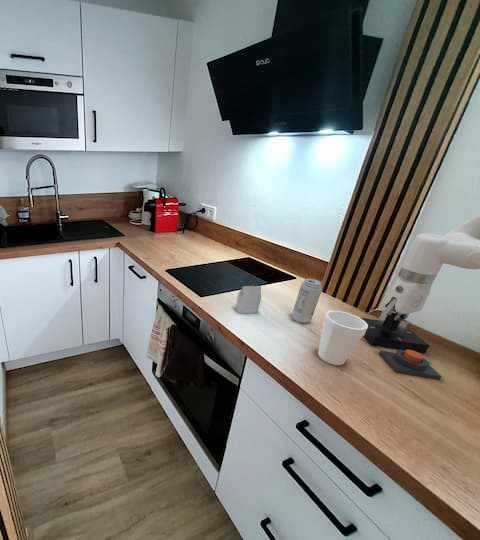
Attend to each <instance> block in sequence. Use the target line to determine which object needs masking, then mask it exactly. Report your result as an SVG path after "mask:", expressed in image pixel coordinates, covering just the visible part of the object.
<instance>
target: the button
mask: <svg viewBox="0 0 480 540" xmlns="http://www.w3.org/2000/svg"><path fill="white" fill-rule="evenodd" d="M403 356H404V357H405V358H406V359H408V360H410V361H413V362H416V363H420V362H421V360H422V359H423V358H424V355H423V354H422V353H418V352H416V351H413V350H405V352H404V354H403Z"/></svg>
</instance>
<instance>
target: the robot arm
mask: <svg viewBox="0 0 480 540" xmlns="http://www.w3.org/2000/svg"><path fill="white" fill-rule="evenodd" d="M443 264H445V265H450V266H453V267H457V268H461V269H467V270H480V214H479V215H476V216H474V217H471V218H470V219H468V220H466V221H464V222H462V223H461V224H459V225H457V226H456V227H454V228H453V229H451V230H450V231H448V232H447V233H444V235H442V234H441V235H440V234H436V233H428V232H427V233H426V232H425V233H419V234H417V235H416V236H415V238H414V239H413V241H412V243H411V245H410V247H409V250H408V252H407V254H406V256H405V258H404V261H403V262H402V264H401V267H400V269H399V272H398V274H397V276H396V277H397V279H396V281H395V282H394V284H393V285H392V288H391V289H390V291H389V292H388V294H387V296H386V299H385V301H384V304H383V306H384V308H385V309H384V310H383V311H384V313H386V318H385V320H384V322H383V324H382V327H384V328H386V329H388V330H390V331H395V329H396V327H397V325H398V322H399V321H398V319H399V317H401V318H403V319H405V320H407V319H408V318H409V315H410V314H412V313H417V312H420V311H421V310H422V309H423V308H424V306H425V304H426V302H427V300H428V296H429V295H430V292H431V289H432V285H433V284H434V282H435V280H436V278H437V276H438V275H439V272H440V270H441V268H442V267H443Z"/></svg>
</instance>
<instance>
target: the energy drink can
mask: <svg viewBox="0 0 480 540" xmlns="http://www.w3.org/2000/svg"><path fill="white" fill-rule="evenodd" d="M322 290H323V286H322V282H321V281H320V280H318V279H315V278H305V279H304V280H303V282H302V283H301V284H300V287H299V289H298V293H297V296H296V299H295V303H294V305H293V309H292V313H291V317H292V319H293V320H294V321H295V322H297V323H299V324H304V325H305V324H308V323H310V322H312V319H313V317H314V314H315V311H316V308H317V305H318V303H319V301H320V300H319V299H320V296H321V294H322V292H323V291H322Z"/></svg>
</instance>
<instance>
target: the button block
mask: <svg viewBox="0 0 480 540" xmlns="http://www.w3.org/2000/svg"><path fill="white" fill-rule="evenodd" d="M404 352H405V350H399V349H397V350H396V351H395V352H392V351H387V350H386V351H385V350H379V353H378V354H379V356H380V357H381V358H382V359H383V360H384V361H385V362H386V363H387V365H388V366H389V367H390V368H391V369H392V370H393V372H395V373H397V374H402V375H409V376H415V377H421V378H427V379H433V380H437V381H440V380H441V378H442V375H441V374H440V373H439V372H437V370H435V368H433V367H432V365H430V364H429V361H428V360H427V359H426V358H424V357H423V359H422V360H421V362H420V363H416V362H413V361H410V360H408V359H406V358H405V357H404V356H403V354H404Z"/></svg>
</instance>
